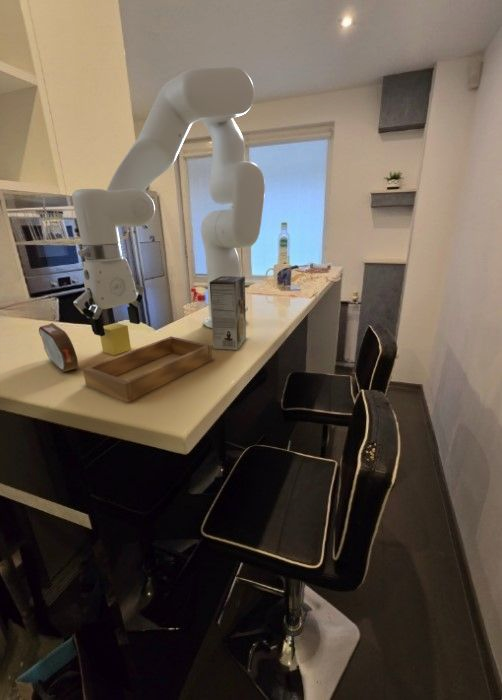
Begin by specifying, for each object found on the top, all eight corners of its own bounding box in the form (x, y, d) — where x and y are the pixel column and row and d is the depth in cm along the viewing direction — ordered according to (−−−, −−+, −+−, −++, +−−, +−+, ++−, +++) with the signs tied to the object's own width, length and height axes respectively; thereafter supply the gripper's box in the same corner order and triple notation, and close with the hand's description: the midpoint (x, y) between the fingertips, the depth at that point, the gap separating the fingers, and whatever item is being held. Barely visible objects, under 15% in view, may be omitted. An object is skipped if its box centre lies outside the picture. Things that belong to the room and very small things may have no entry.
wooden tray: (172, 350, 78) (171, 336, 76) (211, 360, 72) (211, 345, 70) (86, 385, 60) (82, 368, 59) (128, 403, 54) (125, 384, 53)
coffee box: (223, 337, 87) (220, 275, 81) (246, 338, 85) (245, 276, 80) (212, 348, 78) (208, 281, 73) (238, 350, 77) (236, 282, 71)
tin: (81, 373, 66) (73, 333, 63) (64, 378, 63) (55, 337, 60) (59, 354, 76) (50, 319, 73) (43, 358, 74) (34, 322, 71)
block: (119, 346, 81) (115, 322, 78) (131, 349, 78) (127, 325, 76) (102, 351, 77) (98, 327, 75) (114, 355, 75) (110, 330, 73)
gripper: (74, 258, 61) (94, 343, 68) (146, 249, 75) (157, 321, 81) (53, 257, 65) (73, 337, 72) (125, 249, 79) (137, 317, 85)
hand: (118, 328), depth 77 cm, fingers open, 9 cm apart
